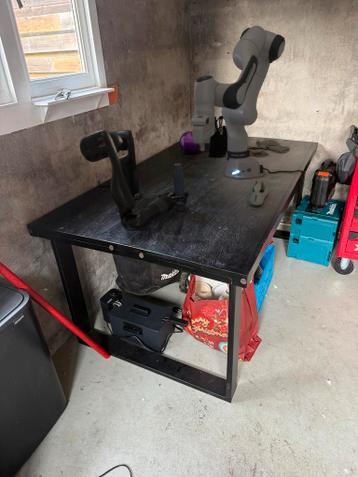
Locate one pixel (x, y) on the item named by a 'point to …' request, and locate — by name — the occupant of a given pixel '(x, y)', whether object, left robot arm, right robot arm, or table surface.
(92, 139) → the left robot arm
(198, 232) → the table surface
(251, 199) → the ballet flat
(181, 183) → the bottle
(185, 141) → the decorative orb
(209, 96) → the right robot arm
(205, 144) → the cap
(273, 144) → the pair of gloves
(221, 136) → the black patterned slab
